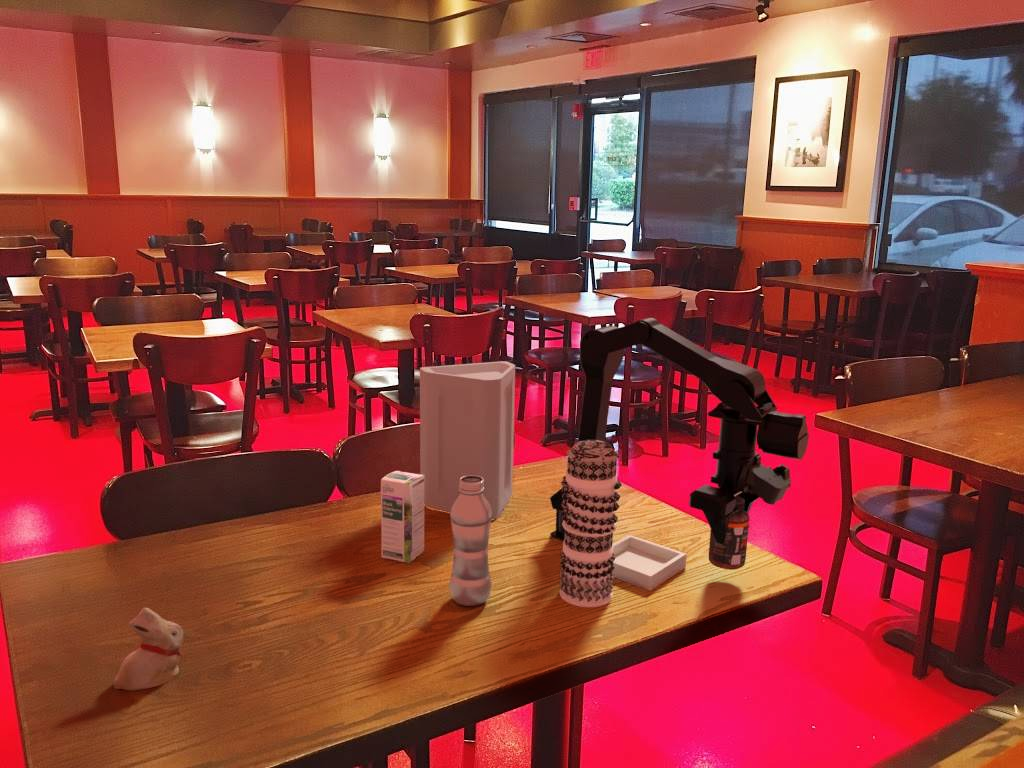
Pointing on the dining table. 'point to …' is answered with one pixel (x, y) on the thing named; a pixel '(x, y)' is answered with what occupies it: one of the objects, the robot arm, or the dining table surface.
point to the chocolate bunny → (151, 653)
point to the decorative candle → (589, 523)
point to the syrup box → (402, 516)
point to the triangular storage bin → (467, 431)
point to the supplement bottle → (732, 541)
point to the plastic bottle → (470, 543)
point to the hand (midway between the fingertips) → (728, 537)
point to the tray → (645, 562)
